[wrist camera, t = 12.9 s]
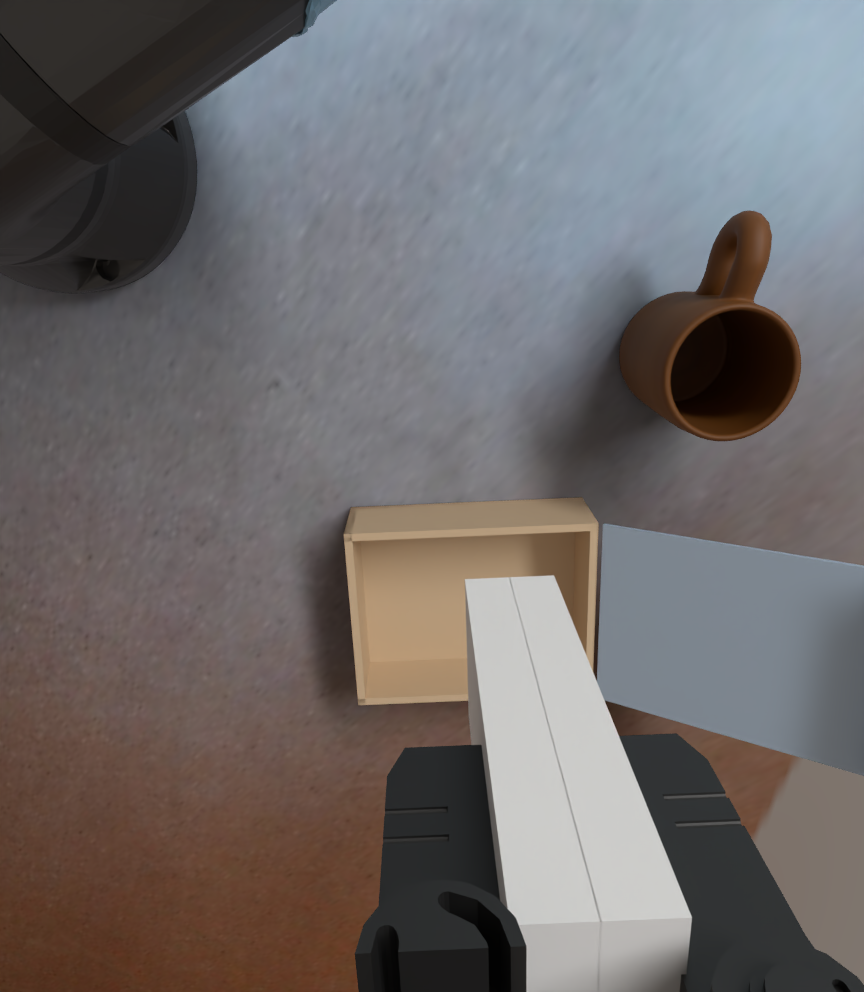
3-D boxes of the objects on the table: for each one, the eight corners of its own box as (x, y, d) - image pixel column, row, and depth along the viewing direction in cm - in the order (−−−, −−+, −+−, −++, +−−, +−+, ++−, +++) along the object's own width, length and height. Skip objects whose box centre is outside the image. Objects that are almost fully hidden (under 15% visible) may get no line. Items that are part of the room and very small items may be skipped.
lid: (879, 801, 39) (881, 777, 41) (921, 591, 35) (920, 574, 37) (586, 712, 48) (597, 695, 50) (592, 535, 44) (604, 523, 45)
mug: (640, 209, 44) (696, 199, 35) (762, 222, 45) (847, 216, 36) (605, 402, 48) (647, 437, 39) (717, 413, 48) (784, 451, 40)
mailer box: (364, 665, 54) (358, 705, 50) (350, 507, 50) (343, 534, 45) (577, 656, 54) (592, 695, 50) (581, 497, 50) (598, 523, 45)
